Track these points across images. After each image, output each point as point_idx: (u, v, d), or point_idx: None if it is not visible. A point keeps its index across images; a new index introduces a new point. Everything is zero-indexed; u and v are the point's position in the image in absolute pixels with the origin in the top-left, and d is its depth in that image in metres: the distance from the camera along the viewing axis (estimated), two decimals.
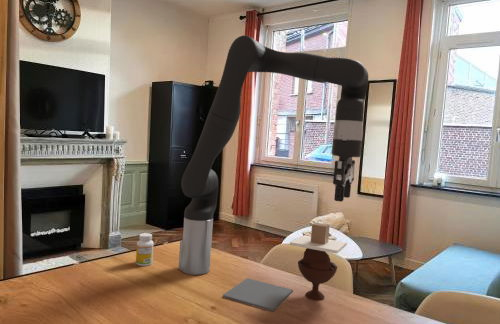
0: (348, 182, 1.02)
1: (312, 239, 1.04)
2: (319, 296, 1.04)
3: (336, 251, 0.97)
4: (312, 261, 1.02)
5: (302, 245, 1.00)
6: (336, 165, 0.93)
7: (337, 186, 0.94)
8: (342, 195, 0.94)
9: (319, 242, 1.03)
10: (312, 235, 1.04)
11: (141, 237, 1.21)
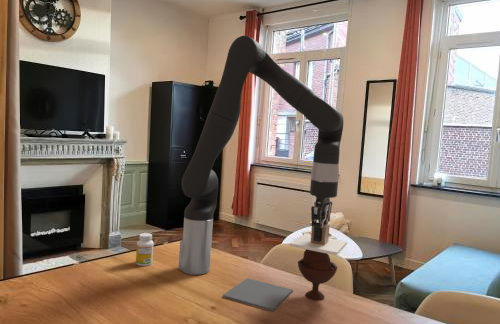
0: (324, 223, 1.07)
1: (312, 239, 1.04)
2: (319, 296, 1.04)
3: (336, 253, 0.97)
4: (312, 261, 1.02)
5: (302, 246, 1.01)
6: (312, 211, 0.99)
7: (315, 228, 1.02)
8: (320, 236, 1.02)
9: (319, 243, 1.03)
10: (312, 236, 1.04)
11: (141, 237, 1.21)
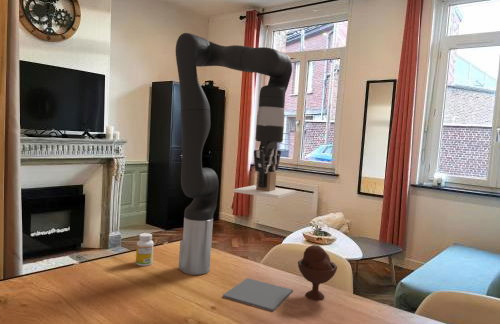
0: (271, 171, 1.04)
1: (257, 186, 1.01)
2: (319, 296, 1.04)
3: (278, 196, 0.94)
4: (312, 261, 1.02)
5: (245, 191, 0.98)
6: (255, 155, 0.97)
7: (260, 173, 0.99)
8: (265, 182, 1.00)
9: (264, 189, 1.01)
10: (257, 182, 1.01)
11: (141, 237, 1.21)
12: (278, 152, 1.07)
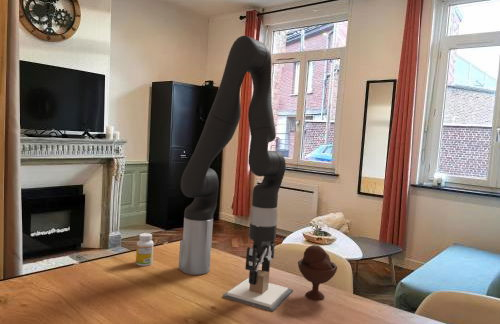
0: (267, 260, 1.07)
1: (250, 288, 1.03)
2: (319, 296, 1.04)
3: (270, 305, 0.96)
4: (313, 261, 1.02)
5: (238, 296, 1.00)
6: (248, 252, 0.98)
7: (250, 271, 0.99)
8: (255, 279, 1.00)
9: (257, 291, 1.02)
10: (250, 284, 1.03)
11: (141, 237, 1.21)
12: (272, 241, 1.08)
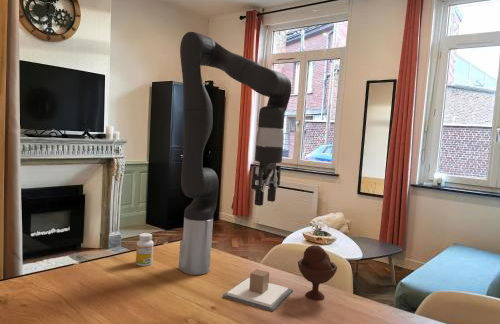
0: (273, 187, 1.06)
1: (250, 288, 1.03)
2: (319, 296, 1.04)
3: (270, 305, 0.96)
4: (312, 261, 1.02)
5: (238, 296, 1.00)
6: (254, 171, 0.97)
7: (256, 191, 0.98)
8: (261, 199, 0.98)
9: (257, 291, 1.02)
10: (250, 284, 1.03)
11: (141, 237, 1.21)
12: (278, 168, 1.07)
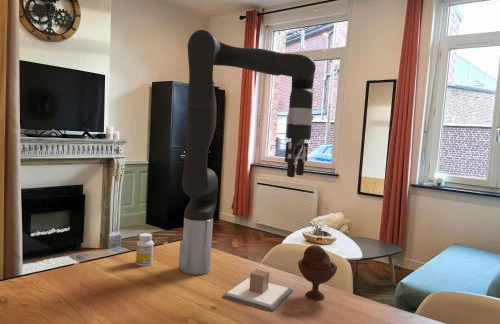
0: (301, 162, 1.18)
1: (250, 288, 1.03)
2: (319, 296, 1.04)
3: (270, 305, 0.96)
4: (312, 261, 1.02)
5: (238, 296, 1.00)
6: (287, 145, 1.09)
7: (289, 164, 1.10)
8: (293, 171, 1.10)
9: (257, 291, 1.02)
10: (250, 284, 1.03)
11: (141, 237, 1.21)
12: (306, 145, 1.19)
